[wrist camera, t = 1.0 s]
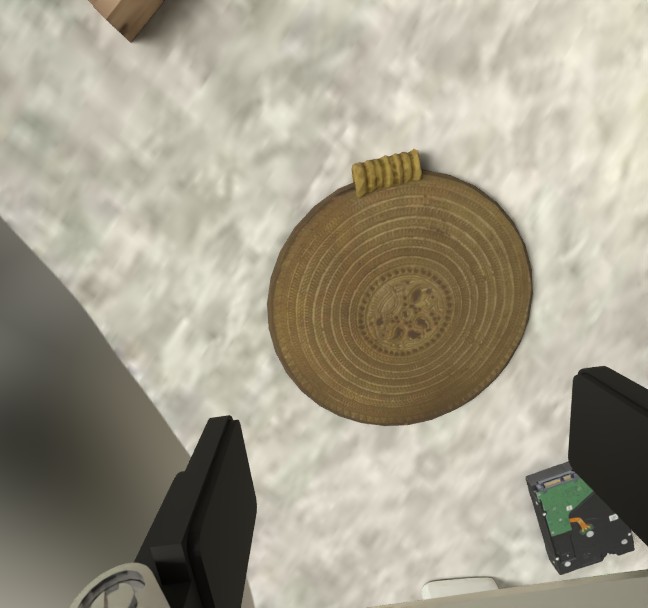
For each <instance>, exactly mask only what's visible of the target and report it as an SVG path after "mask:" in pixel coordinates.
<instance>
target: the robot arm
mask: <svg viewBox="0 0 648 608" xmlns="http://www.w3.org/2000/svg"><path fill="white" fill-rule="evenodd" d="M568 460H569V463H570V466H571V467H572V469H573V470H574V472H575V473H576V474H577V475H578V476H579V477H580V478H581V479H582V480H583V481H584V482H585V483H586V484H587V485H588V486H589V487H590V488H591V489H592V490H593V491H594V492H595V493H596V494H597V495H598V496H599V497H600V498H601V499H602V500H603V501H604V502H605V503H606V504H607V505H608V506H609V507H610V508H611V509H612V510H613V511H614V512H615V513H616V514H617V516H618V517H619V518H620V519H621V520H622V521H623V522H624V523H625V524H626V525H627V526H628V527H629V528H630V529H631V530H632V531H633V532H634V533H635V534H636V535H637V536H638V537H639V538H640V539H641V540H642V541H643V542H644V543H645V544H646V545H647V546H648V389H646V388H644V387H642V386H641V385H639V384H637V383H635V382H633V381H632V380H630V379H628V378H626V377H625V376H623V375H621V374H619V373H617V372H616V371H614V370H612V369H610V368H608V367H606V366H599V367H592V368H584V369H581V370H580V371H579V372H578V375H576V376H574V378H573V387H572V403H571V418H570V434H569V450H568ZM256 513H257V502H256V496H255V491H254V486H253V481H252V477H251V472H250V467H249V463H248V458H247V453H246V449H245V444H244V439H243V434H242V430H241V425H240V422H239V420H233V418H232V416H230V415H229V416H221V417H213V418H209V420H208V422H207V424H206V426H205V428H204V431H203V433H202V435H201V437H200V439H199V441H198V444H197V446H196V448H195V450H194V452H193V455H192V457H191V459H190V461H189V464H188V466H187V468H186V470H185V471H184V472H180V473H178V474H177V475H176V477H175V478H174V480H173V482H172V484H171V487H170V489H169V491H168V493H167V495H166V497H165V499H164V501H163V503H162V505H161V507H160V509H159V511H158V513H157V515H156V518H155V520H154V522H153V524H152V526H151V528H150V530H149V532H148V534H147V536H146V538H145V540H144V542H143V545H142V546H141V549H140V551H139V553H138V555H137V557H136V559H135V561H134V563H126V564H123V565H120V566H117V567H114V568H112V569H110V570H108V571H106V572H104V573H103V574H101V575H100V576H98V577H97V578H96V579H94V580H93V581H92V582H91V583H89V584H88V585H87V586H86V587H85V588H84V589H83V590H82V592H80V594H79V595H78V596H77V597H76V598H75V600H74V601H73V603H72V604H71V606H70V607H69V608H241V603H242V597H243V591H244V585H245V579H246V573H247V567H248V561H249V555H250V549H251V543H252V537H253V531H254V525H255V519H256ZM368 608H648V569H646V570H639V571H631V572H623V573H615V574H608V575H600V576H593V577H585V578H578V579H570V580H563V581H555V582H548V583H540V584H533V585H526V586H518V587H511V588H504V589H496V590H489V591H482V592H474V593H467V594H460V595H453V596H446V597H439V598H431V599H424V600H417V601H410V602H403V603H396V604H389V605H382V606H375V607H368Z"/></svg>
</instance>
